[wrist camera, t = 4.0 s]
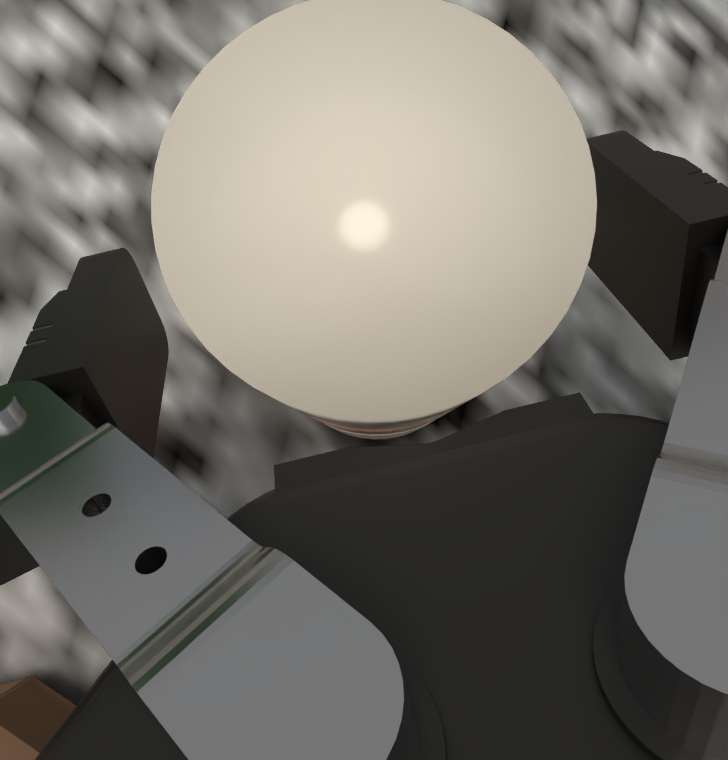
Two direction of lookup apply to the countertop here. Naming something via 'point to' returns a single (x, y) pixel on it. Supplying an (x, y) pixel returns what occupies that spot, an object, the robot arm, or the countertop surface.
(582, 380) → the countertop surface
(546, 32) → the countertop surface
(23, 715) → the bead tray
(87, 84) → the countertop surface
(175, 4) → the countertop surface
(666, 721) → the robot arm
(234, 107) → the bead stack
